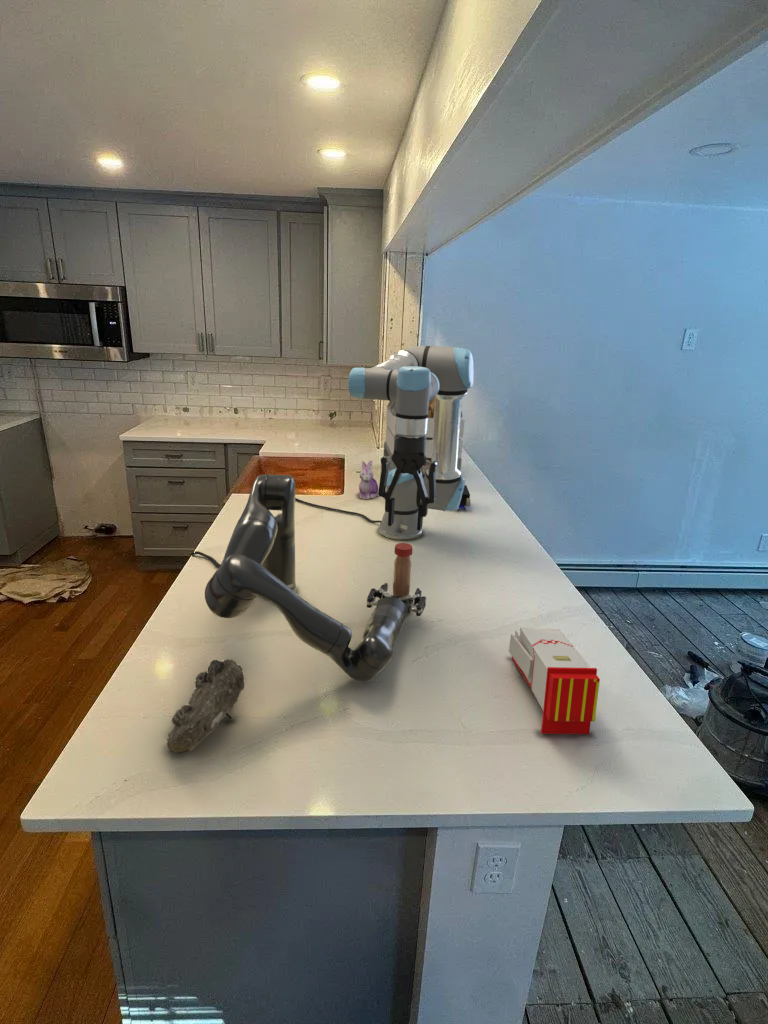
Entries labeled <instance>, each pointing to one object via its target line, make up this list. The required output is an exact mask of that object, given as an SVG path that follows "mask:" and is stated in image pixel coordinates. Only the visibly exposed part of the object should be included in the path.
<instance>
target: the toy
mask: <svg viewBox="0 0 768 1024" xmlns="http://www.w3.org/2000/svg"><path fill="white" fill-rule="evenodd" d="M508 653H509V654H510V656H511V660H512V661H513V664H515V666H516V667H517V669H518V670H519V672H520V673H521V675H522V677H523V678H524V680H525V681H526V683H527V684H528V686H529V688H530V689H531V691H532V694H533V695H534V697H535V699H536V700H537V702H538V704H539V706H540V708H541V710H542V720H541V730H540V733H541V735H547V734H548V735H590V731H591V723H592V722H593V723H595V722H596V713H597V706H598V700H599V699H598V698H599V697H598V696H599V689H600V682H601V681H600V680H601V679H600V677H599V675H598V668H597V667H591V666H590V665H589V664H588V663H587V661H586V660H585V659H584V657H583V656H582V655H581V654H580V652H579V651H578V649H576V647H574V645H573V644H572V643H571V642H570V640H569V639H568V637H566V636H565V634H564V633H563V631H561V629H560V628H553V627H552V628H551V627H550V628H549V627H547V628H546V627H520V628H519V629H515V631H514V633H510V639H509V646H508Z"/></svg>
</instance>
